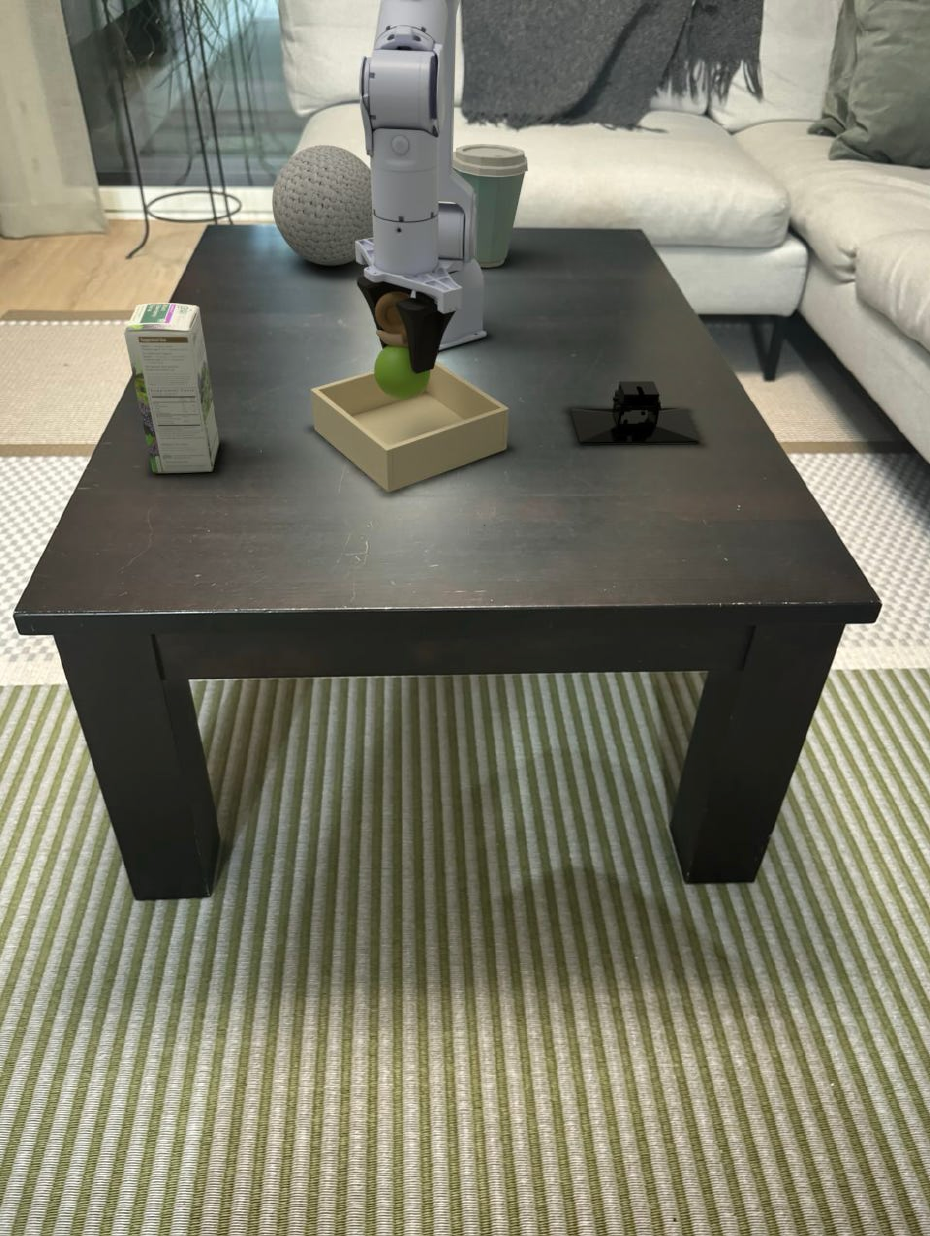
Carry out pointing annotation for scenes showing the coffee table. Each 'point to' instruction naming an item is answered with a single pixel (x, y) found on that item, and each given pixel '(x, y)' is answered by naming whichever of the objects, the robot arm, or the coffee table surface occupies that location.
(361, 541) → the coffee table surface
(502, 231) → the disposable coffee cup
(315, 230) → the decorative ball
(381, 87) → the robot arm
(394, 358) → the snail figurine
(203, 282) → the coffee table surface
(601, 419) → the build plate
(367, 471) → the tray
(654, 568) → the coffee table surface
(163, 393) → the syrup box
